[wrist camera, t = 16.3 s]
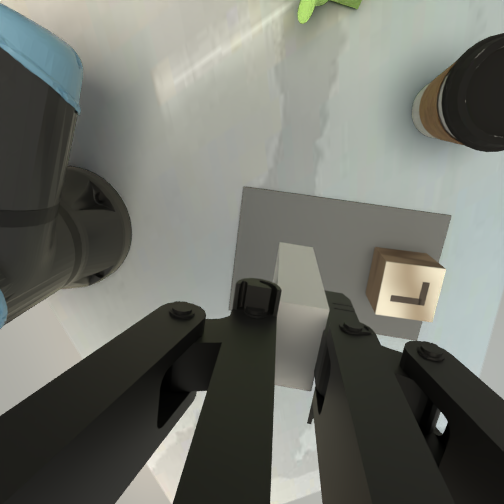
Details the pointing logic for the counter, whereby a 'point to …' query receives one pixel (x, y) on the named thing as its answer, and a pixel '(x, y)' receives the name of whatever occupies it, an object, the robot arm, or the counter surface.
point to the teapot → (309, 3)
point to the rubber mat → (334, 244)
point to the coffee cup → (467, 99)
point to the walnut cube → (404, 284)
